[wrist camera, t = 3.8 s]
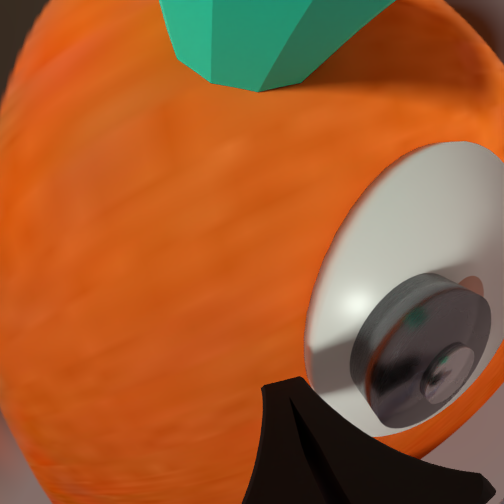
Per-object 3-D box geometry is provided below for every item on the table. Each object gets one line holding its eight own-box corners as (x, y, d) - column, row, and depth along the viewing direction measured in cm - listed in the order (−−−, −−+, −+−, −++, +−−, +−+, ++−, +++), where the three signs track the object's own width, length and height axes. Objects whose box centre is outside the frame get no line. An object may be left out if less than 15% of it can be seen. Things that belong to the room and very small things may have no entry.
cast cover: (443, 365, 11) (477, 396, 8) (346, 411, 10) (373, 458, 8) (462, 258, 9) (513, 280, 6) (349, 295, 9) (400, 340, 6)
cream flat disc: (489, 361, 14) (498, 368, 13) (310, 454, 13) (315, 469, 12) (514, 149, 10) (528, 150, 9) (277, 148, 8) (287, 143, 7)
